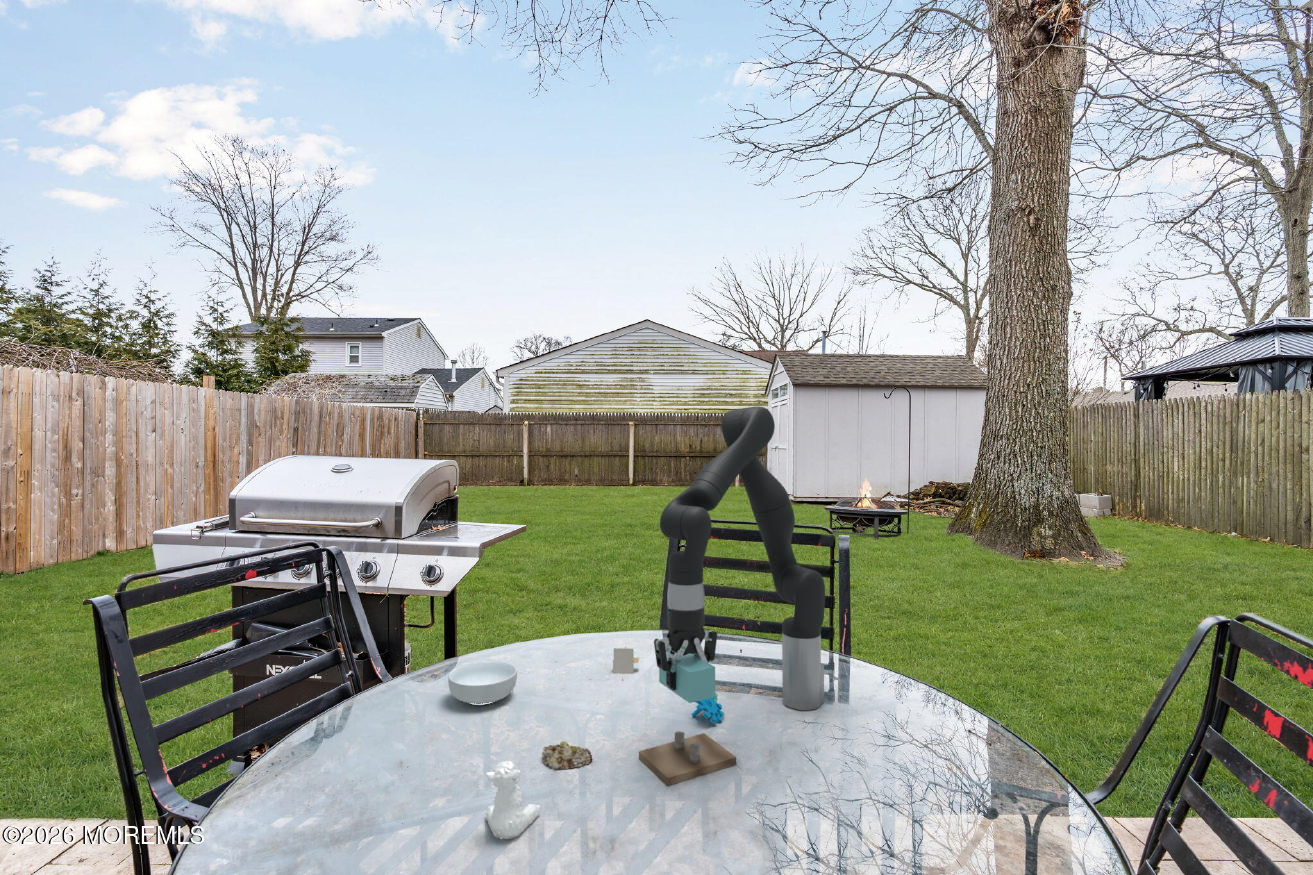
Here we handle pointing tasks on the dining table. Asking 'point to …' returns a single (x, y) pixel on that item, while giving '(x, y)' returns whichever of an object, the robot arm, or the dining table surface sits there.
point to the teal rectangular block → (692, 679)
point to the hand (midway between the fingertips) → (686, 685)
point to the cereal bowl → (482, 681)
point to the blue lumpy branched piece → (709, 709)
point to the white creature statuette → (508, 803)
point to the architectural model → (624, 660)
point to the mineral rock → (565, 756)
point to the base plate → (686, 758)
